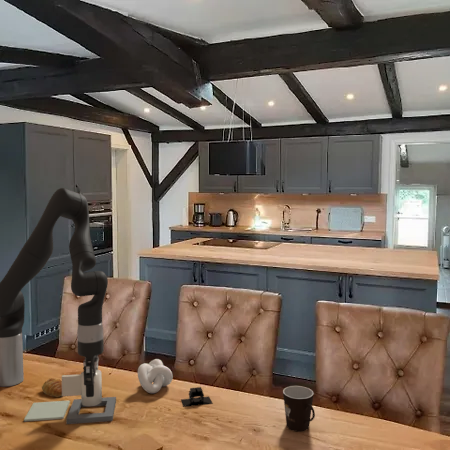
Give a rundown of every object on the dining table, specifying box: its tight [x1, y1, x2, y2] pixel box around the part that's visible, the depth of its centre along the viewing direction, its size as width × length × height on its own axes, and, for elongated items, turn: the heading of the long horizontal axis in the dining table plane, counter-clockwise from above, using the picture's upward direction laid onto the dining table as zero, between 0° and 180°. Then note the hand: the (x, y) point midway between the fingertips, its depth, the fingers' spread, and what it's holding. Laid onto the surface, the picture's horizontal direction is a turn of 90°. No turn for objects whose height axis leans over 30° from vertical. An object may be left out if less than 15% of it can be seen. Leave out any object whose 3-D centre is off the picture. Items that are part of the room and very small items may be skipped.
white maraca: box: [61, 369, 103, 407], centre depth 142 cm, size 12×6×9 cm, turn 98°
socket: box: [65, 396, 117, 425], centre depth 143 cm, size 13×13×2 cm
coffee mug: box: [282, 385, 316, 433], centre depth 132 cm, size 12×9×10 cm
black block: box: [180, 386, 214, 408], centre depth 150 cm, size 12×7×5 cm, turn 104°
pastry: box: [41, 378, 63, 398], centre depth 157 cm, size 9×7×4 cm
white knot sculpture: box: [137, 358, 173, 394], centre depth 159 cm, size 11×12×9 cm
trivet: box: [23, 400, 71, 422], centre depth 143 cm, size 11×11×1 cm
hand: (91, 391), depth 142 cm, fingers closed on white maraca, 6 cm apart
